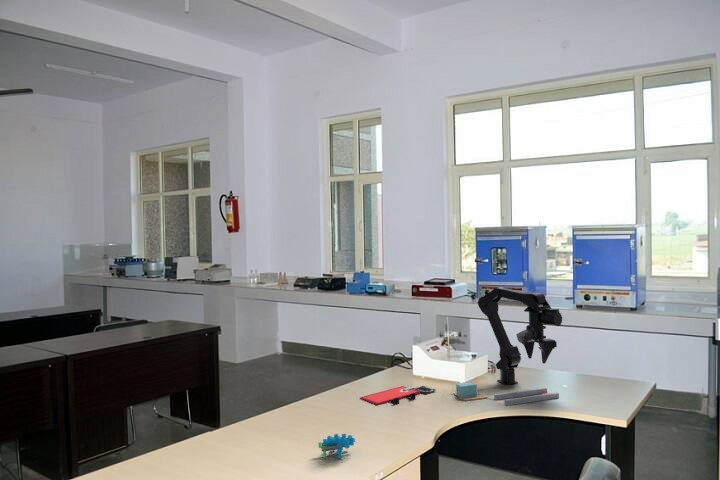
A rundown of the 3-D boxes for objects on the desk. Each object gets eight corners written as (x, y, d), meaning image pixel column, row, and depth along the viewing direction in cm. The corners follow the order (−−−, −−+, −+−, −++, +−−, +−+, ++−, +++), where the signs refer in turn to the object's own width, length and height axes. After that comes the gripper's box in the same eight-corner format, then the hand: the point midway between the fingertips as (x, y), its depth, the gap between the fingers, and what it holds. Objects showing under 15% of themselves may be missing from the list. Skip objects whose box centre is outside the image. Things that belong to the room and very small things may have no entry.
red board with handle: (440, 393, 225) (415, 385, 238) (439, 386, 225) (415, 379, 238) (383, 409, 208) (360, 400, 220) (383, 402, 208) (359, 393, 220)
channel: (494, 399, 215) (494, 394, 215) (545, 391, 223) (545, 387, 223) (506, 405, 208) (506, 400, 207) (558, 397, 215) (558, 393, 215)
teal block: (456, 395, 220) (456, 383, 220) (471, 393, 222) (471, 382, 222) (461, 397, 216) (461, 386, 216) (476, 395, 219) (476, 384, 218)
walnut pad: (452, 394, 223) (452, 393, 223) (474, 391, 226) (474, 390, 226) (464, 401, 213) (464, 400, 213) (487, 398, 217) (487, 397, 217)
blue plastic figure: (356, 443, 170) (352, 429, 162) (358, 462, 165) (354, 448, 158) (321, 448, 170) (315, 435, 163) (322, 467, 166) (316, 454, 158)
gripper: (506, 321, 232) (507, 357, 232) (533, 328, 215) (534, 368, 215) (528, 319, 236) (529, 355, 236) (557, 326, 218) (557, 365, 218)
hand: (536, 360), depth 226 cm, fingers open, 9 cm apart
